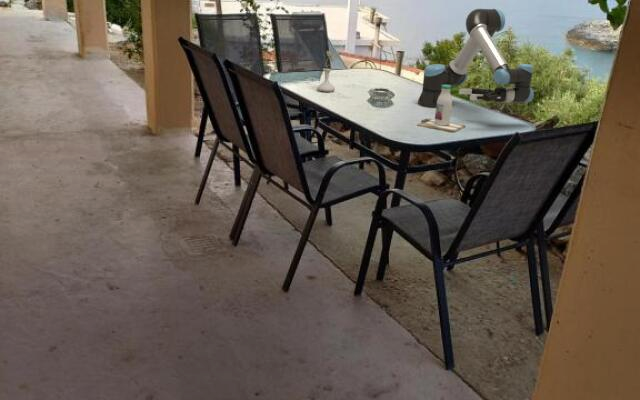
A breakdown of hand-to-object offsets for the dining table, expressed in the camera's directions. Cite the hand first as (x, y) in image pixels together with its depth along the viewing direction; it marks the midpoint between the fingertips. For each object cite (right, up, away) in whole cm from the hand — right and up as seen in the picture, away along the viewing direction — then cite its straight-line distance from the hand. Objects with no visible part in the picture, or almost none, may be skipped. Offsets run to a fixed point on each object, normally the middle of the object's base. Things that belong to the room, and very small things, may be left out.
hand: (464, 94), depth 300 cm
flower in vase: (-70, +15, +76) cm, 104 cm away
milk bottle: (-11, -15, +3) cm, 19 cm away
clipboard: (-11, -16, +3) cm, 20 cm away
